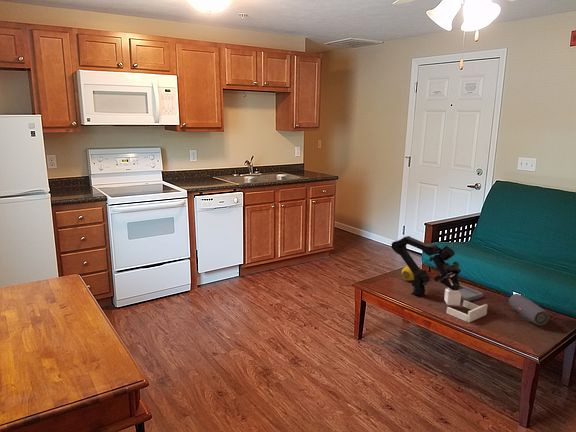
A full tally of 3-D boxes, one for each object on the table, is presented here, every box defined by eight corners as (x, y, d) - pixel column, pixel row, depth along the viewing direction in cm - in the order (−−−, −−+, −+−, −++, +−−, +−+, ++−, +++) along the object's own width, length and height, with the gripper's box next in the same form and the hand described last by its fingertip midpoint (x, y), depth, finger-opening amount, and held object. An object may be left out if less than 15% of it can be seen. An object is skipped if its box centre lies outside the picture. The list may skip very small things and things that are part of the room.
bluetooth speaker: (506, 309, 248) (508, 293, 246) (521, 308, 249) (524, 292, 247) (531, 327, 226) (534, 310, 224) (548, 327, 227) (551, 309, 225)
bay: (446, 313, 242) (447, 303, 241) (464, 305, 252) (465, 296, 250) (468, 322, 231) (470, 312, 230) (486, 314, 241) (487, 304, 240)
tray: (443, 293, 270) (444, 289, 269) (460, 288, 278) (460, 284, 277) (465, 302, 256) (466, 298, 256) (482, 297, 265) (483, 293, 264)
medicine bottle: (456, 300, 251) (458, 281, 249) (460, 305, 244) (462, 285, 242) (444, 299, 252) (446, 280, 249) (447, 304, 245) (449, 285, 242)
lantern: (418, 258, 302) (394, 267, 283) (431, 264, 296) (406, 274, 276) (414, 270, 306) (390, 280, 287) (426, 277, 300) (402, 288, 280)
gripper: (440, 260, 240) (456, 285, 234) (460, 254, 251) (475, 278, 244) (427, 269, 248) (442, 294, 242) (446, 263, 259) (461, 287, 252)
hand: (455, 288), depth 245 cm, fingers closed on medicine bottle, 6 cm apart
